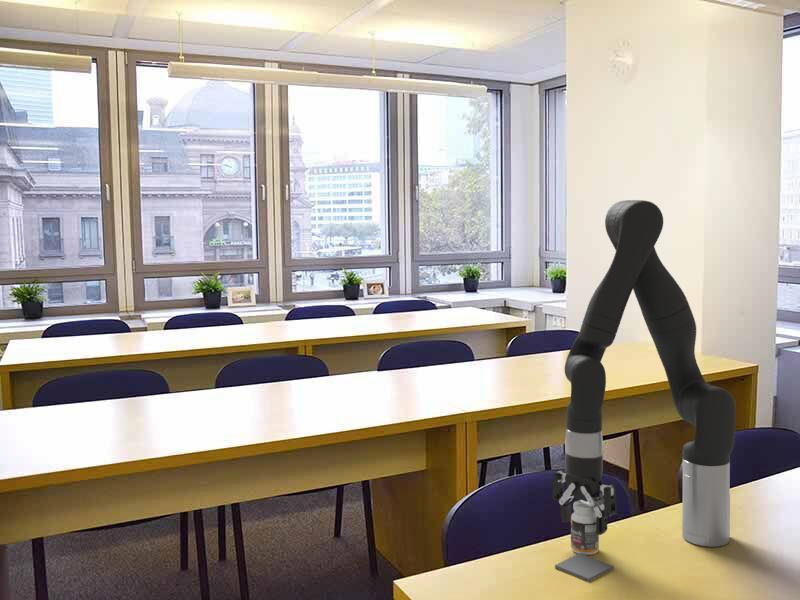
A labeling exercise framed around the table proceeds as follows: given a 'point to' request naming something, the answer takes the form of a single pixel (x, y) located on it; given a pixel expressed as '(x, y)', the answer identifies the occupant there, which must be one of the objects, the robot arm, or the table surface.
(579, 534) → the pill bottle
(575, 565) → the coaster
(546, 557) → the table surface
